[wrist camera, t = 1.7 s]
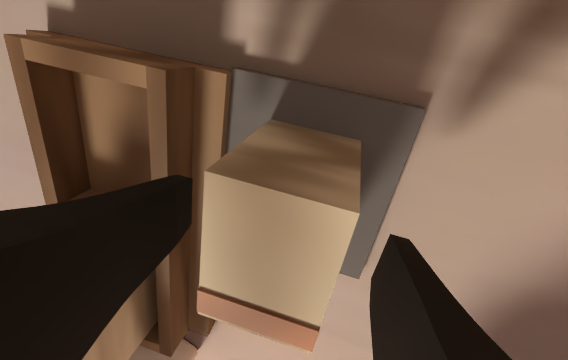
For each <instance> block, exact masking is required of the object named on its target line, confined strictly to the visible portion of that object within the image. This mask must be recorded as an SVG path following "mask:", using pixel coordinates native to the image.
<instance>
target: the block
mask: <svg viewBox="0 0 568 360" xmlns="http://www.w3.org/2000/svg"><path fill="white" fill-rule="evenodd" d="M157 321H158V310H157V289H156V269H154V271H153V272H152V273H151V274H150V275H149V276H148V277H147V278H146V279H145V280H144V281H143V282H142V283H141V285H140V286H139V287H138V288H137V289H136V290H135V291H134V292H133V293H132V294H131V296H130V297H129V298H128V299H127V300H126V301H125V303H124V304H123V305H122V306H121V308H120V309H119V310H118V312H117V313H116V314H115V316H114V317H113V318H112V320H111V321H110V322H109V323H108V325H107V326H106V327H105V329H104V330H103V331H102V333H101V334H100V336H99V337H98V338H97V340H96V341H95V343H94V344H93V345H92V347H91V348H90V349H89V351H88V352H87V354H86V355H85V356H84V358H83V359H82V360H128V359H129V358H130V357H131V355H132V354H133V353H134V351H135V350H136V349H137V347H138V346H139V345H140V343H141V342H142V341H143V339H144V338H145V337H146V335H147V334H148V333H149V331H150V330H151V329H152V327H153V326H154V325H155V323H156V322H157Z"/></svg>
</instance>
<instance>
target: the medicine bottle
mask: <svg viewBox="0 0 568 360" xmlns="http://www.w3.org/2000/svg"><path fill="white" fill-rule="evenodd" d="M196 355H197V349H196V347H194V346H193V345H192V344H190V343H189V342H187V341H186V340H185V339H182V340H181V342H180V344H179V345H178V347H177V348H176V350H175V352H174V353H173V355H172V357H169V356H166V355H163V354H161V353H158V352H156V351H153V350H150V349H148V348H145V347H143V346H140V345H139V346H138V347H137V349H136V350H135V351H134V353H133V354H132V355H131V357H130V358H129V359H128V360H194V358H195V356H196Z"/></svg>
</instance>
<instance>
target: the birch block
mask: <svg viewBox="0 0 568 360" xmlns="http://www.w3.org/2000/svg"><path fill="white" fill-rule="evenodd" d="M360 174H361V141H360V140H356V139H352V138H348V137H343V136H339V135H335V134H331V133H327V132H322V131H318V130H314V129H310V128H306V127H301V126H297V125H293V124H289V123H285V122H281V121H276V120H272V119H270V120H269V121H268V122H267V123H265V124H264V125H263V126H261V127H260V128H259V129H258V130H256V131H255V132H254V133H252V134H251V135H250V136H249V137H247V138H246V139H245V140H243V141H242V142H241V143H240V144H238V145H237V146H236V147H235V148H233V149H232V150H231V151H229V152H228V153H227V154H226V155H224V156H223V157H222V158H220V159H219V160H218V161H217V162H215V163H214V164H213V165H211V166H210V167H209V168H208V169H206V170H205V172H204V193H203V215H202V236H201V257H200V278H199V289H198V290H197V311H198V314H200V315H203V316H206V317H209V318H211V319H214V320H217V321H220V322H223V323H226V324H228V325H231V326H234V327H237V328H240V329H242V330H245V331H248V332H251V333H254V334H256V335H259V336H262V337H265V338H268V339H271V340H273V341H276V342H279V343H282V344H285V345H287V346H290V347H293V348H296V349H299V350H301V351H304V352H307V353H310V354H311V352H312V351H313V348H314V345H315V342H316V339H317V336H318V334H319V329H320V326H321V323H322V321H323V318H324V315H325V312H326V309H327V306H328V303H329V301H330V298H331V295H332V292H333V289H334V286H335V283H336V281H337V278H338V275H339V272H340V269H341V266H342V263H343V261H344V258H345V255H346V252H347V249H348V246H349V243H350V241H351V238H352V235H353V232H354V229H355V226H356V223H357V221H358V218H359V215H360Z"/></svg>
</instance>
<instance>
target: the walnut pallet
mask: <svg viewBox="0 0 568 360" xmlns="http://www.w3.org/2000/svg"><path fill="white" fill-rule="evenodd" d="M26 33H27V35H20V34H3V35H4V39H5V43H6V47H7V51H8V55H9V59H10V63H11V67H12V71H13V75H14V79H15V83H16V87H17V91H18V95H19V99H20V103H21V107H22V111H23V115H24V119H25V123H26V127H27V131H28V135H29V139H30V143H31V147H32V151H33V155H34V159H35V163H36V167H37V171H38V175H39V179H40V183H41V187H42V191H43V195H44V199H45V203H46V205H49V204H55V203H61V202H66V201H71V200H77V199H81V198H86V197H90V196H94V195H98V194H103V193H107V192H111V191H115V190H119V189H123V188H126V187H130V186H134V185H137V184H141V183H145V182H148V181H152V180H156V179H159V178H163V177H167V176H172V175H181V176H185V177H188V178H192V179H193V184H192V224H191V225H190V227H189V228H188V230H187V231H186V233H185V234H184V236H183V237H182V239H181V240H180V241H179V243H178V244H177V245H176V247H175V248H174V249H173V250H172V251H171V252H170V253H169V254H168V255H167V256H166V258H165V259H164V260H163V261H162V262H161V263H160V264H159V265H158V266H157V267H156V268H155V269H156V289H157V310H158V321H157V322H156V323H155V325H154V326H153V327H152V329H151V330H150V331H149V333H148V334H147V335H146V337H145V338H144V339H143V341H142V342H141V343H140V346H143V347H145V348H148V349H150V350H153V351H156V352H158V353H161V354H163V355H166V356H169V357H172V355H173V353H174V352H175V350H176V348H177V347H178V345H179V344H180V342H181V340H182V339H183V337H184V336H185V334H186V332H187V331H188V330H190V331H193V332H195V333H198V334H201V335H204V336H206V337H207V336H208V335H209V333H210V331H211V329H212V327H213V325H214V319H211V318H209V317H206V316H203V315H200V314H198V311H197V290H198V289H199V278H200V257H201V236H202V215H203V193H204V172H205V170H206V169H208V168H209V167H210V166H211V165H213V164H214V163H215V162H217V161H218V160H219V159H220V158H222V157H223V156H224V155H225V149H226V136H227V124H228V112H229V99H230V87H231V75H232V71H228V70H223V69H219V68H214V67H210V66H205V65H200V64H196V63H191V62H187V61H182V60H177V59H173V58H168V57H164V56H159V55H155V54H150V53H145V52H141V51H136V50H132V49H127V48H122V47H118V46H113V45H109V44H104V43H99V42H95V41H90V40H86V39H81V38H77V37H72V36H67V35H63V34H58V33H54V32H49V31H37V30H26Z"/></svg>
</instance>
